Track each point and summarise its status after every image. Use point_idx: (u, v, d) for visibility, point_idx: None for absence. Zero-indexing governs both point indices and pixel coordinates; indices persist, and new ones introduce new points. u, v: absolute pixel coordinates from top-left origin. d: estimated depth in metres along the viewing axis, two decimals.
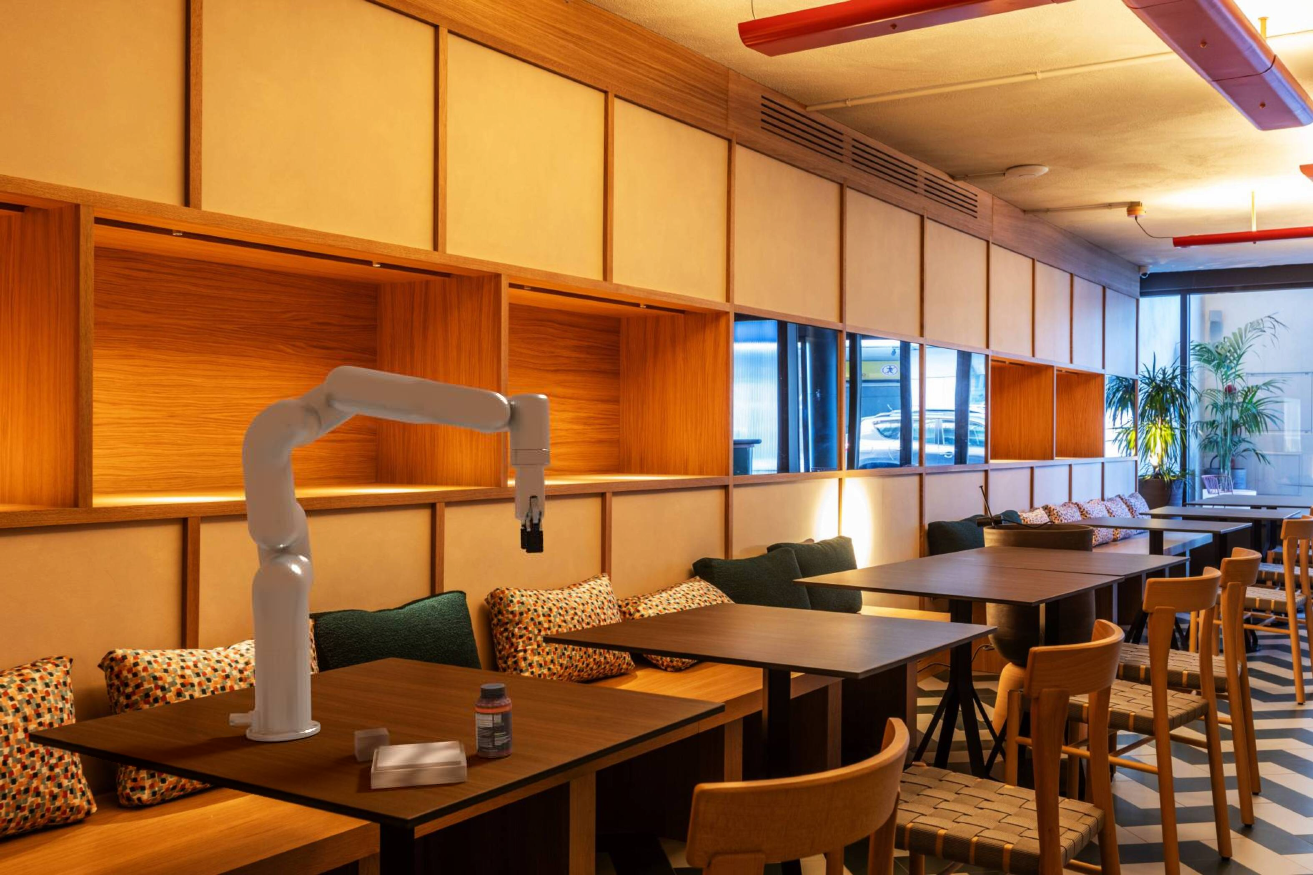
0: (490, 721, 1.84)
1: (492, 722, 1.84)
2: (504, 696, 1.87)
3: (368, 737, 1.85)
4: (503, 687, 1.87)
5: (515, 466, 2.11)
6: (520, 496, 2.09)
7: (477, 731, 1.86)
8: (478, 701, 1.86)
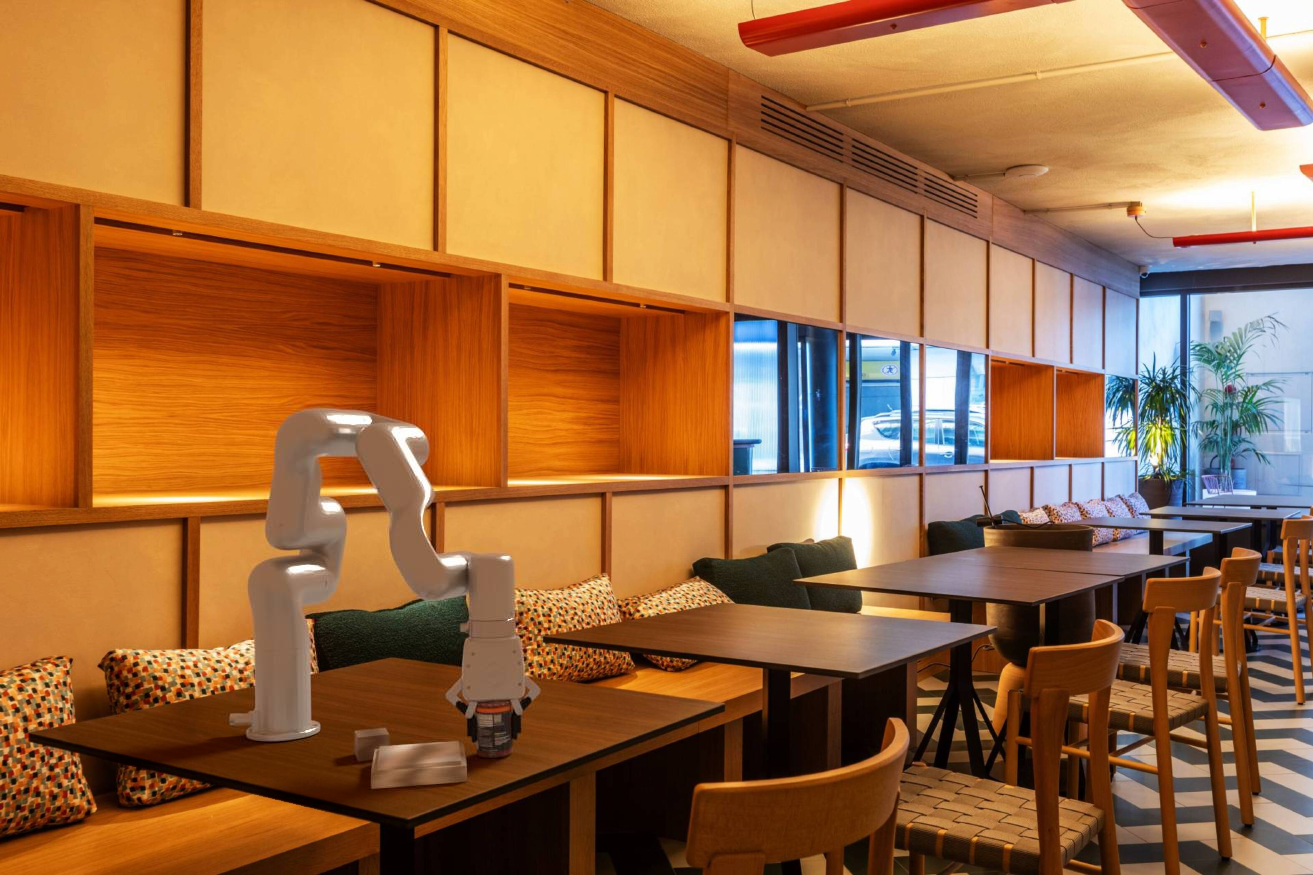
0: (490, 721, 1.84)
1: (492, 722, 1.84)
2: None
3: (368, 737, 1.85)
4: None
5: (507, 638, 1.85)
6: (523, 671, 1.86)
7: (477, 731, 1.86)
8: None
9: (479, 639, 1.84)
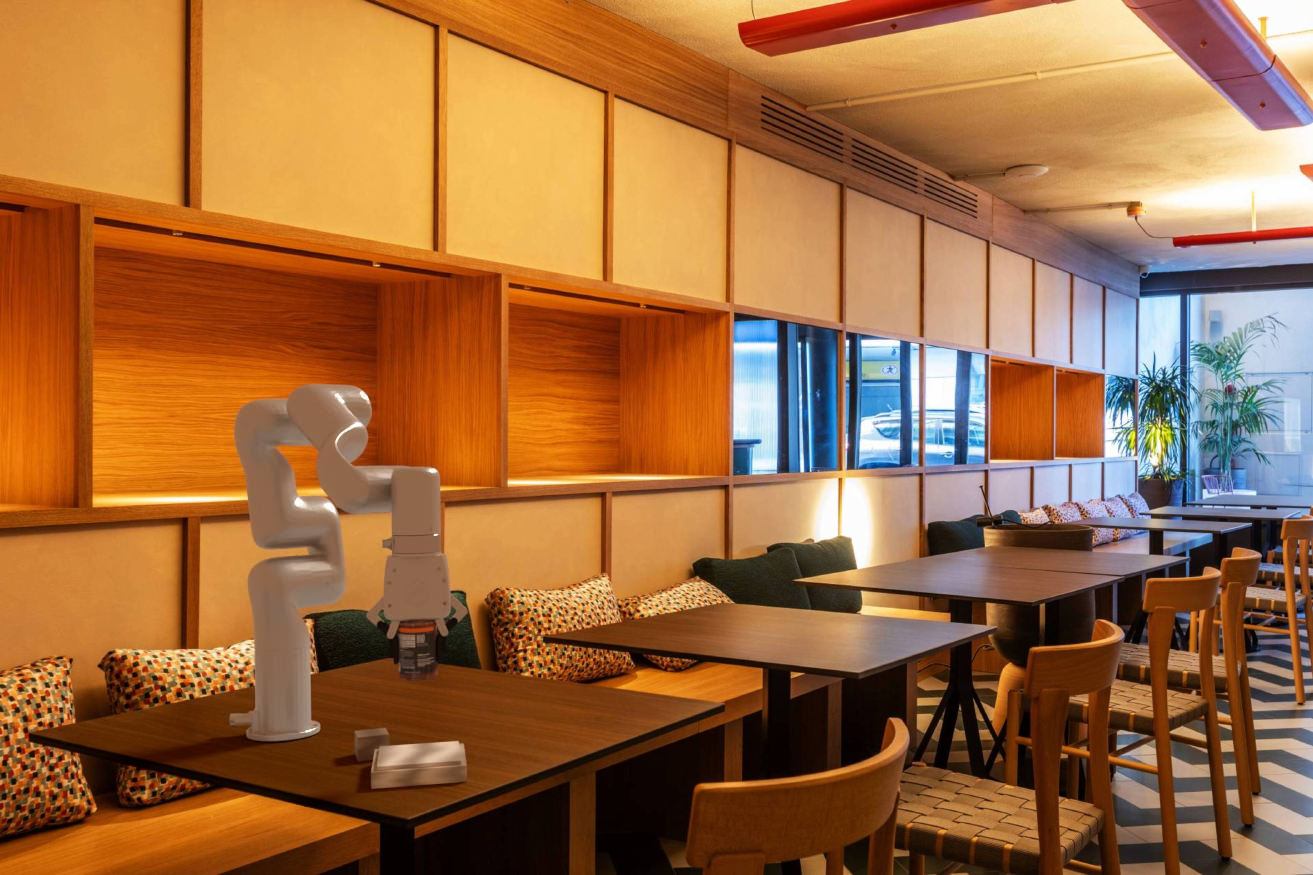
0: (412, 641, 1.75)
1: (415, 643, 1.75)
2: None
3: (368, 737, 1.85)
4: None
5: (431, 554, 1.75)
6: (448, 589, 1.76)
7: (399, 652, 1.76)
8: (401, 621, 1.76)
9: (401, 555, 1.74)
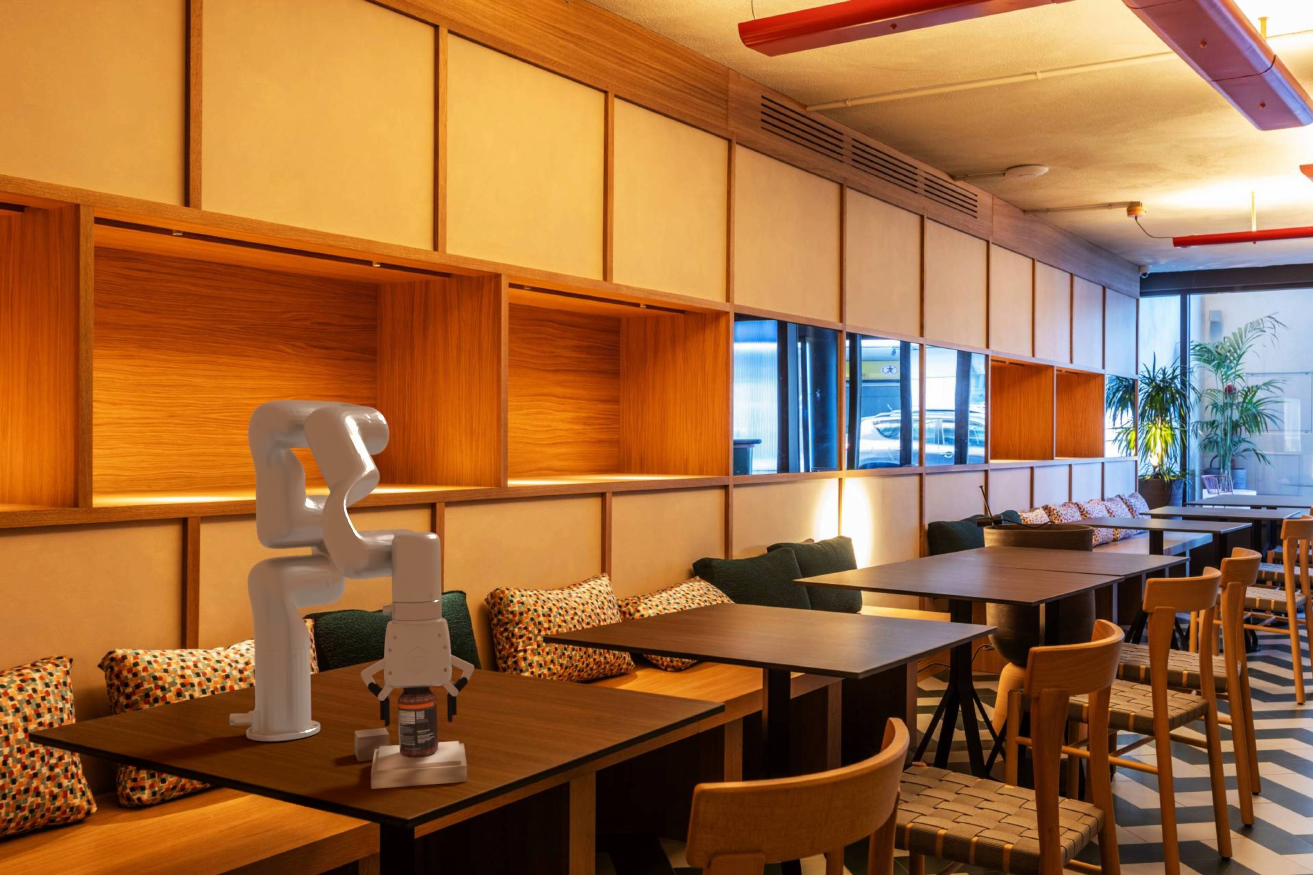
0: (412, 717, 1.74)
1: (415, 719, 1.74)
2: (428, 691, 1.77)
3: (368, 737, 1.85)
4: None
5: (432, 621, 1.75)
6: (449, 655, 1.76)
7: (399, 728, 1.76)
8: (400, 697, 1.76)
9: (402, 622, 1.74)
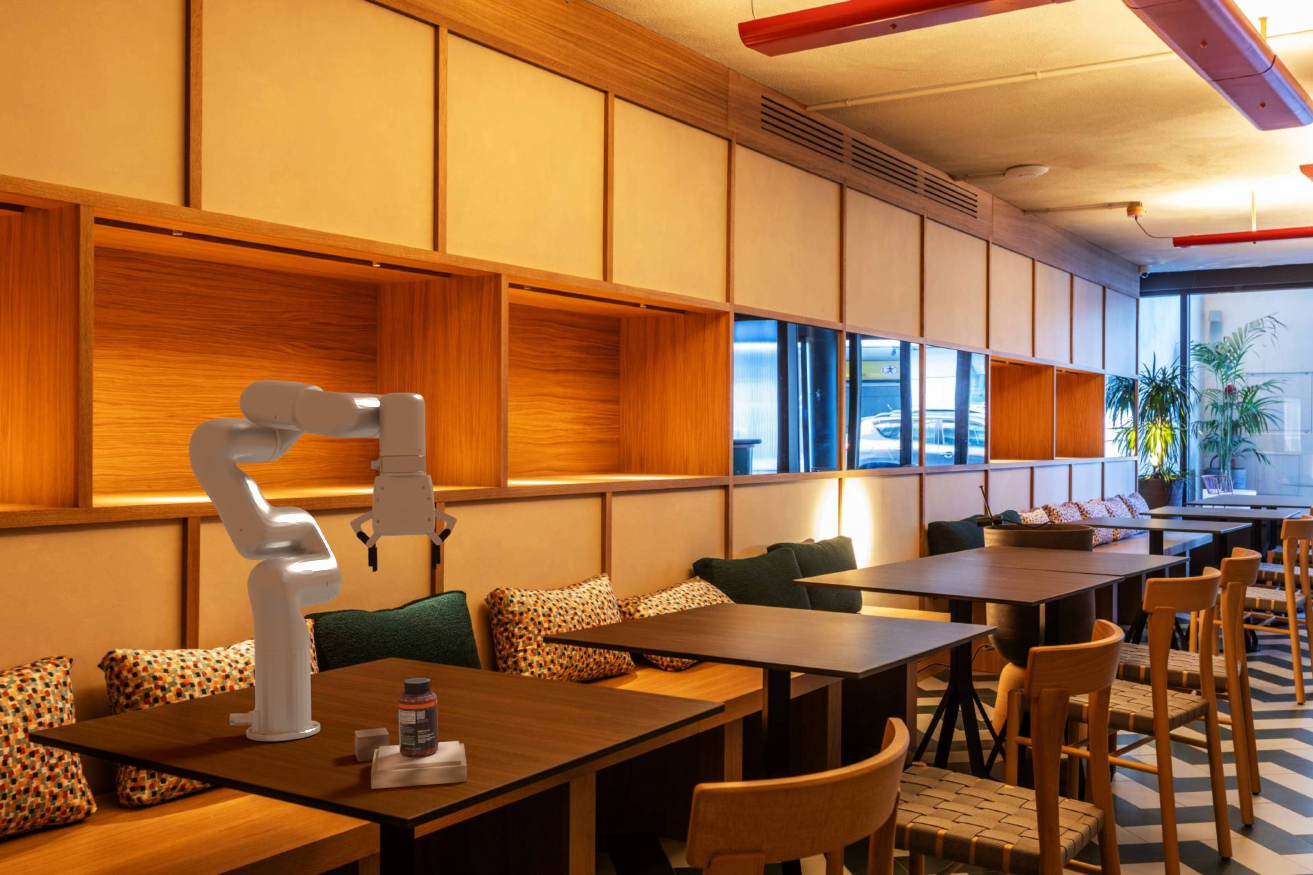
0: (412, 717, 1.74)
1: (415, 719, 1.74)
2: (429, 691, 1.77)
3: (368, 737, 1.85)
4: (428, 682, 1.77)
5: (417, 474, 1.88)
6: (432, 507, 1.89)
7: (400, 728, 1.76)
8: (401, 696, 1.76)
9: (388, 474, 1.87)
